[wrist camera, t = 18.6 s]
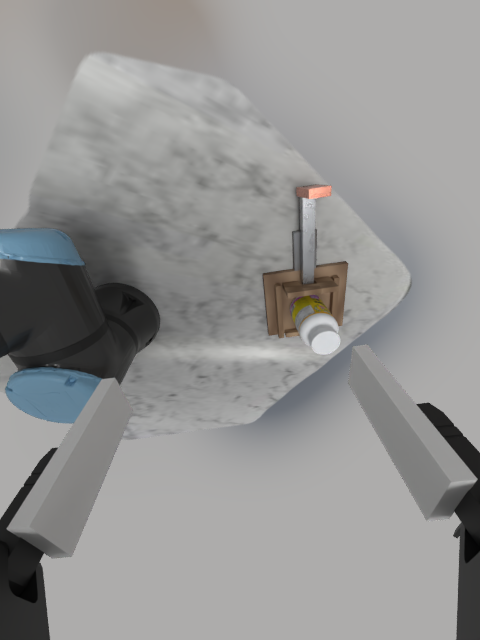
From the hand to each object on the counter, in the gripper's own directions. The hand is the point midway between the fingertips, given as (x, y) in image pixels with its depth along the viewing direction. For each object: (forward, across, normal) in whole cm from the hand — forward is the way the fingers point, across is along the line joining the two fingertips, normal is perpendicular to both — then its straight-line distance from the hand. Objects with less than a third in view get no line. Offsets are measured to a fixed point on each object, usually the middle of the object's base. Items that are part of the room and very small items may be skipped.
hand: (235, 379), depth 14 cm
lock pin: (+33, +13, -1) cm, 36 cm away
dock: (+35, +13, -10) cm, 39 cm away
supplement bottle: (+34, +13, -15) cm, 39 cm away
